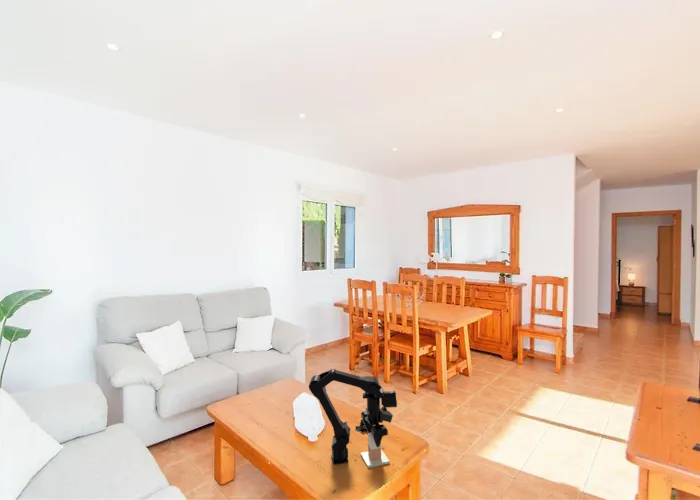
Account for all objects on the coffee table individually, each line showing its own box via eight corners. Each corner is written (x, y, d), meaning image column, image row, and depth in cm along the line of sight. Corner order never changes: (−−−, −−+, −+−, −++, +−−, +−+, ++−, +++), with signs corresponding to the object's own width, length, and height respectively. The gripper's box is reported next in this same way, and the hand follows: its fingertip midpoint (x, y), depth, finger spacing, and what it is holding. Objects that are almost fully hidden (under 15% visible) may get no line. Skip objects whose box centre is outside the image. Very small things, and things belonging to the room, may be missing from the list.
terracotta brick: (371, 460, 160) (371, 449, 160) (368, 455, 165) (368, 444, 164) (381, 458, 162) (380, 447, 161) (377, 453, 166) (377, 442, 166)
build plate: (367, 468, 157) (367, 465, 157) (360, 454, 166) (360, 452, 166) (389, 463, 160) (389, 461, 160) (381, 450, 169) (381, 448, 169)
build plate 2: (352, 433, 186) (351, 424, 186) (352, 426, 193) (352, 417, 193) (376, 433, 185) (376, 424, 185) (376, 425, 193) (375, 417, 193)
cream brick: (371, 449, 160) (371, 438, 160) (368, 444, 164) (367, 433, 164) (381, 447, 161) (380, 436, 161) (377, 442, 166) (377, 431, 165)
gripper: (398, 413, 156) (399, 449, 156) (382, 395, 173) (383, 428, 174) (374, 418, 152) (375, 454, 153) (360, 399, 170) (361, 432, 171)
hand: (374, 441), depth 163 cm, fingers open, 9 cm apart
